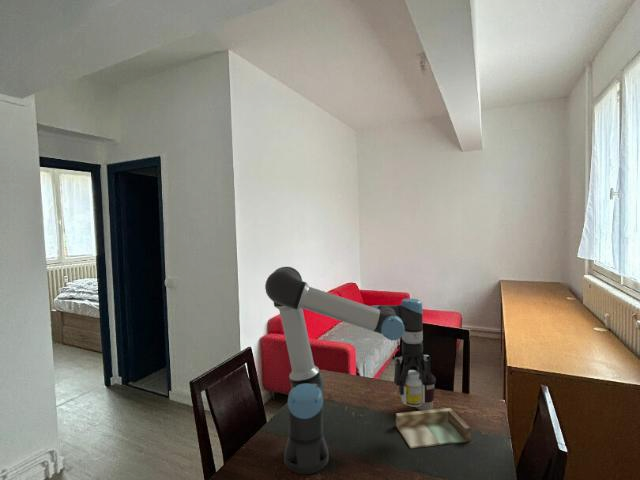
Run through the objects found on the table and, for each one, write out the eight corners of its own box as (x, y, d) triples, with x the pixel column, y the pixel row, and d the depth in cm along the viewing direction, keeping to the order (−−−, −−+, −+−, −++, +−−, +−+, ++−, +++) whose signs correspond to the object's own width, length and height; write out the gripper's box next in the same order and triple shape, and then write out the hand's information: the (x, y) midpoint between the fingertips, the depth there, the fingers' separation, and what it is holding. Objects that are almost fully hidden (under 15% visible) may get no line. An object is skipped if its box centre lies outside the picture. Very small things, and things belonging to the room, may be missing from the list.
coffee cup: (438, 414, 142) (437, 379, 142) (413, 412, 144) (413, 377, 143) (433, 402, 152) (433, 369, 152) (411, 400, 154) (410, 368, 153)
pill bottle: (406, 397, 132) (406, 367, 132) (423, 400, 129) (423, 370, 129) (402, 405, 127) (401, 374, 126) (420, 409, 124) (419, 377, 123)
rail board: (410, 448, 121) (410, 434, 121) (396, 425, 135) (395, 413, 135) (470, 441, 124) (470, 427, 124) (450, 420, 138) (450, 407, 138)
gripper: (390, 346, 122) (391, 409, 123) (441, 342, 125) (442, 404, 126) (383, 339, 129) (384, 399, 130) (432, 336, 132) (432, 394, 133)
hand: (413, 401), depth 128 cm, fingers closed on pill bottle, 6 cm apart
